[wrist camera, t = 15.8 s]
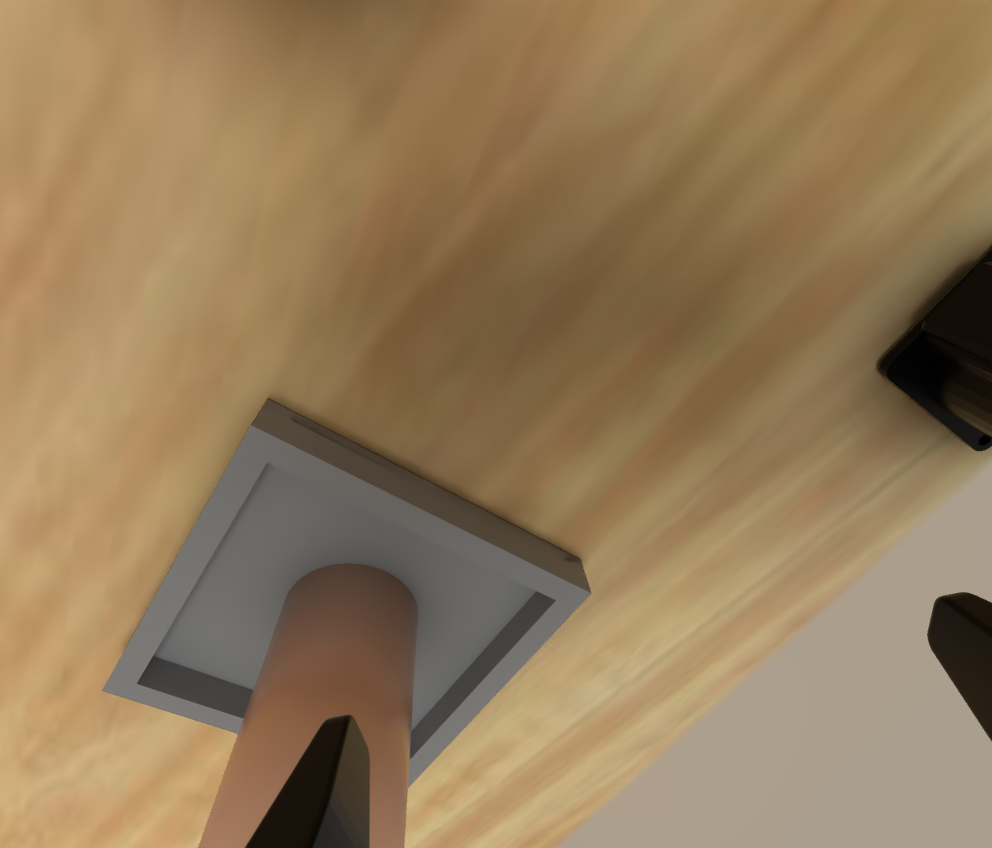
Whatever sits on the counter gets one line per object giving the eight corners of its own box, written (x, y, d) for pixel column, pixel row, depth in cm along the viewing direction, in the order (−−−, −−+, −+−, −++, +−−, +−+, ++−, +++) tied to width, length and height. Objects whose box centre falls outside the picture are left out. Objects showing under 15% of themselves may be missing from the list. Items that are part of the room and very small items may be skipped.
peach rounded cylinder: (442, 596, 24) (438, 1023, 12) (378, 679, 26) (323, 1120, 14) (319, 542, 22) (182, 977, 11) (260, 635, 24) (90, 1092, 13)
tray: (580, 559, 25) (591, 593, 23) (410, 747, 29) (408, 787, 28) (267, 398, 20) (250, 425, 18) (126, 650, 25) (101, 690, 23)
